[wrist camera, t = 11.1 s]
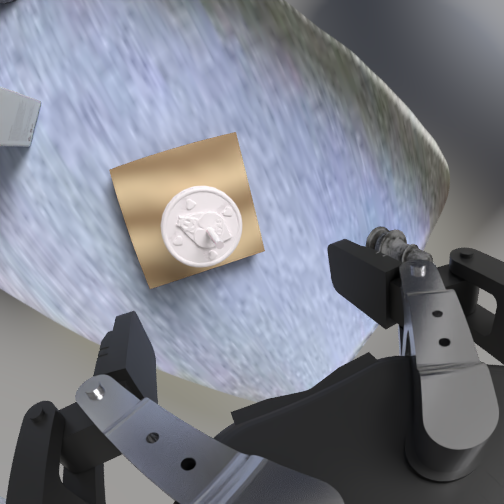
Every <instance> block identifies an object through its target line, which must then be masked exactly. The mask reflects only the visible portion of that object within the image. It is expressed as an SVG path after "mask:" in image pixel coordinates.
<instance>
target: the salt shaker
mask: <svg viewBox="0 0 504 504" xmlns="http://www.w3.org/2000/svg"><path fill="white" fill-rule="evenodd" d="M366 247H370V248H373V249H375V250H377V251H379V252H381V253H383V254H385V255H388V256H390V257H392V258H394V259H396V260H398V261H400V262H403V263H404V262H407V261H410V260H415V259H422V260H427V261H430V262H432V263H433V258H432V256H431V255H430V254H429V253H427V252H425V251H422V250H420V249H419V248H418V246H417V245H415V244H411V245H409V244H407V241H406V237H405V235H404V234H403V232H401V231H400V230H392V231H389V230H388V229H387V228H385V227H377V228H375V229H373V231H372V232H371V233H370V234H369V236H368V238H367V241H366Z"/></svg>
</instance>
